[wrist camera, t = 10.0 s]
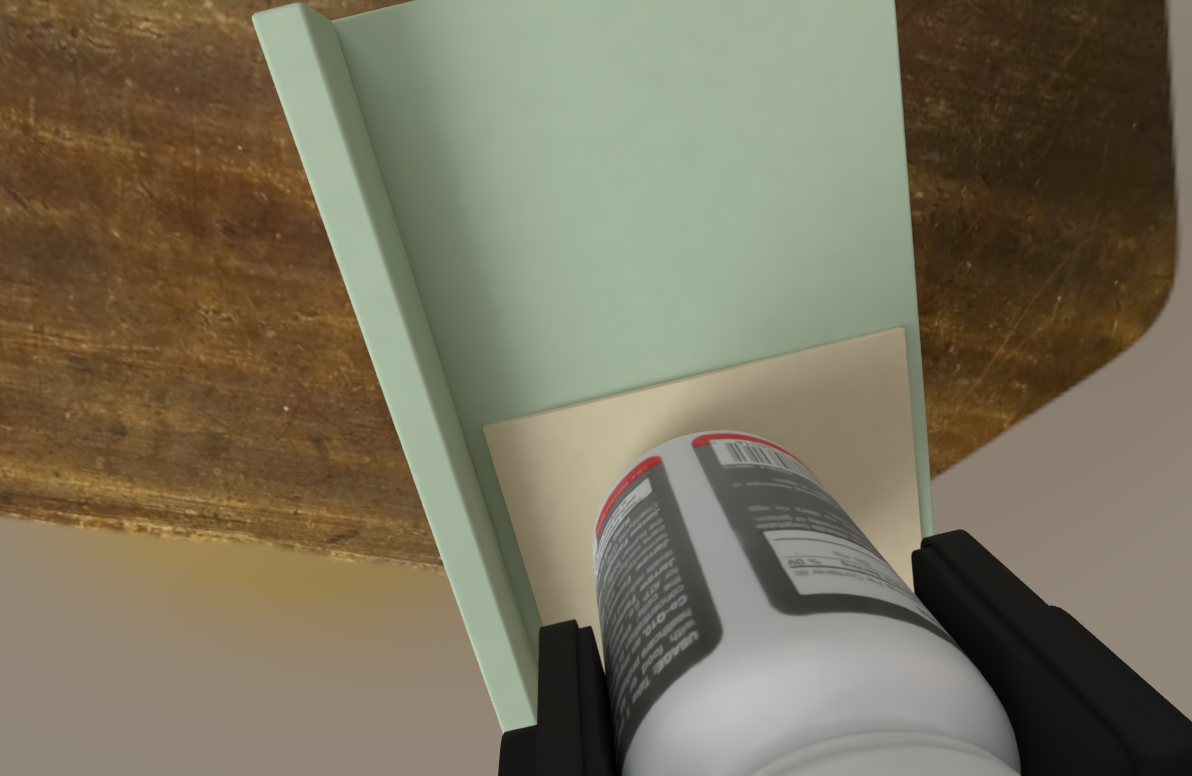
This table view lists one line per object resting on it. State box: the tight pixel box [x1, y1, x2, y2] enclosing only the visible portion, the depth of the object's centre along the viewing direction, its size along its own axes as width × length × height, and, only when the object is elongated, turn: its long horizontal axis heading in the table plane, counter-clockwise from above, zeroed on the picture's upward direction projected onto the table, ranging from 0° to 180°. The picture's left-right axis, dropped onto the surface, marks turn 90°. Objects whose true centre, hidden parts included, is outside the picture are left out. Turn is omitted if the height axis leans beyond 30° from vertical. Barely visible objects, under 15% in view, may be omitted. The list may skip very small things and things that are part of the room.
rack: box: [252, 0, 934, 734], centre depth 18 cm, size 10×14×12 cm
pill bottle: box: [592, 430, 1021, 776], centre depth 10 cm, size 5×5×8 cm
